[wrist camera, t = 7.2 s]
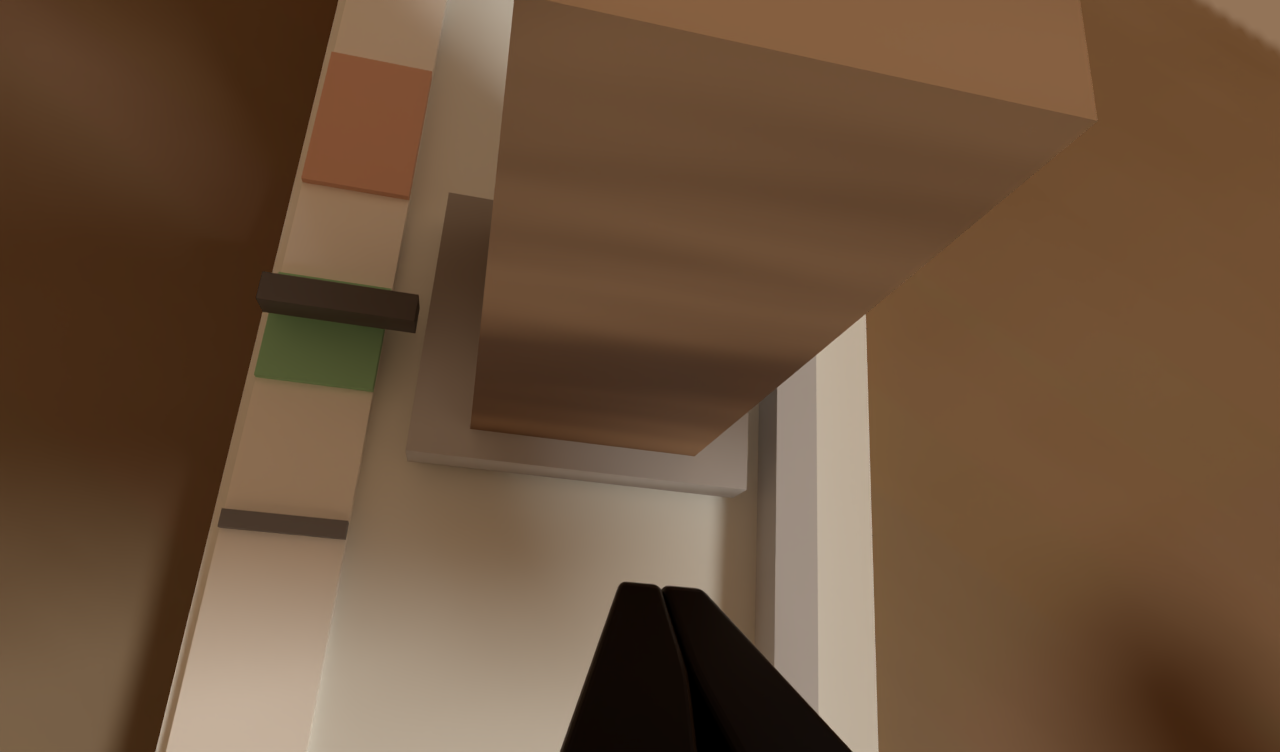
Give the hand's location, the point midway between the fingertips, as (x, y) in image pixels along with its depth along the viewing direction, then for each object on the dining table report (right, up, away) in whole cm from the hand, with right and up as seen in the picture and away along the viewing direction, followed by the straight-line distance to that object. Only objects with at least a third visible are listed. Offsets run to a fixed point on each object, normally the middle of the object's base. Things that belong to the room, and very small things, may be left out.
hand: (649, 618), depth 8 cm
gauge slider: (-2, +3, +7) cm, 8 cm away
